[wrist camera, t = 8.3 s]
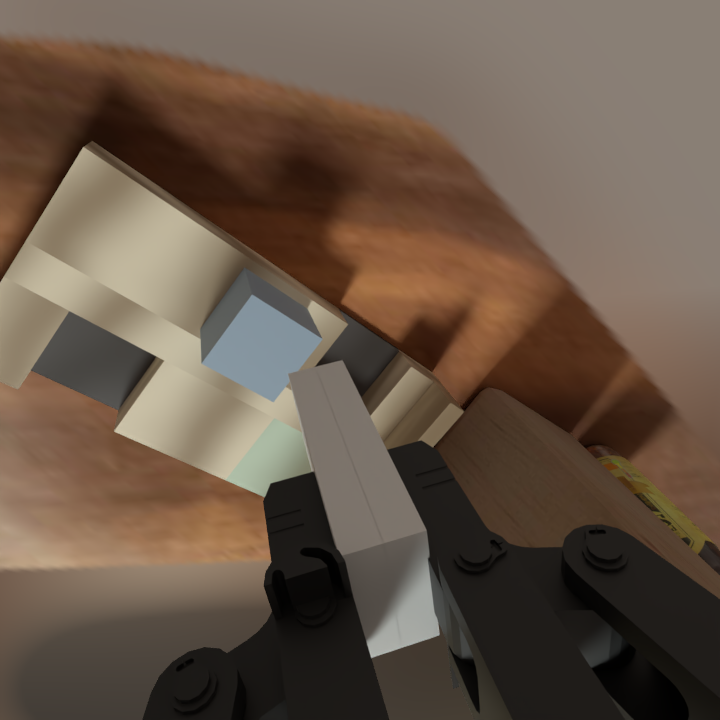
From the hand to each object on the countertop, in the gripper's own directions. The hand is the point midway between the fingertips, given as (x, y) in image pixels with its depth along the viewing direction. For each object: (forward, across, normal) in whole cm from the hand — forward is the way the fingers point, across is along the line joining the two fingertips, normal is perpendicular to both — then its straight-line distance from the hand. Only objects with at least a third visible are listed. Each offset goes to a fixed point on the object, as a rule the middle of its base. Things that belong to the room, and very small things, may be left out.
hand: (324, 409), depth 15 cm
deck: (+17, +4, +5) cm, 18 cm away
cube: (+15, +2, +3) cm, 15 cm away
